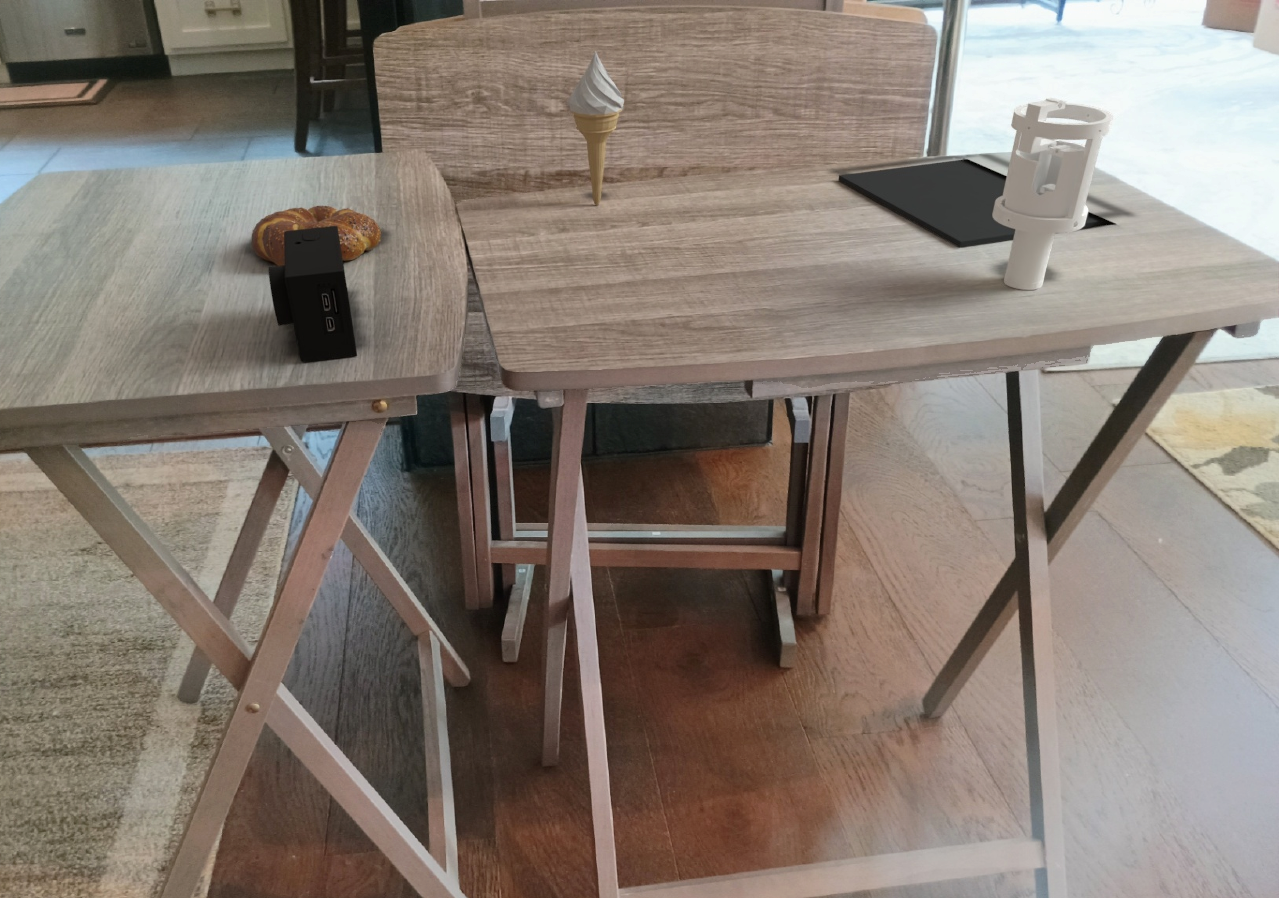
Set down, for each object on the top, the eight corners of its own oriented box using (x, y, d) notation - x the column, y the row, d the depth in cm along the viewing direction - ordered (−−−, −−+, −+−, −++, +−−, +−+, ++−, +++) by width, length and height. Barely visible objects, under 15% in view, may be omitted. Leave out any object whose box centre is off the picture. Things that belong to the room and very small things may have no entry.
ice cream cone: (623, 195, 110) (624, 43, 101) (624, 213, 105) (625, 55, 97) (570, 196, 110) (567, 45, 101) (569, 214, 105) (565, 56, 97)
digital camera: (284, 312, 87) (268, 230, 83) (349, 304, 88) (337, 223, 84) (285, 365, 78) (267, 277, 74) (357, 356, 79) (343, 269, 75)
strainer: (961, 277, 89) (997, 94, 80) (1019, 261, 91) (1060, 82, 83) (1027, 305, 83) (1073, 112, 75) (1086, 287, 86) (1138, 99, 78)
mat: (1122, 223, 99) (1123, 217, 98) (959, 247, 95) (960, 241, 94) (980, 162, 116) (981, 156, 116) (838, 180, 112) (838, 174, 112)
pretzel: (386, 228, 103) (381, 191, 101) (378, 268, 94) (372, 229, 92) (265, 234, 103) (258, 197, 101) (245, 275, 94) (236, 235, 92)
